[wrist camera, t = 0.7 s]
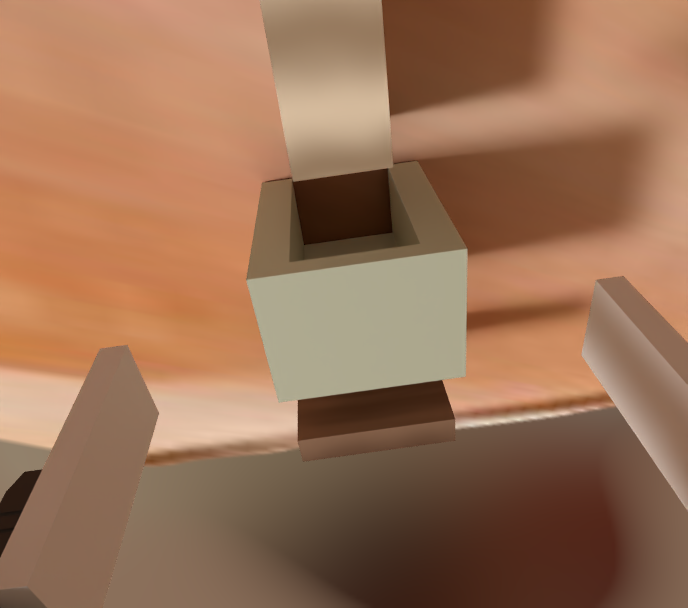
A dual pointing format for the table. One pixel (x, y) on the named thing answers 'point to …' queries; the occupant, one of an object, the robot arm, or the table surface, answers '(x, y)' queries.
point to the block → (360, 295)
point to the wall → (374, 420)
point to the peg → (330, 84)
